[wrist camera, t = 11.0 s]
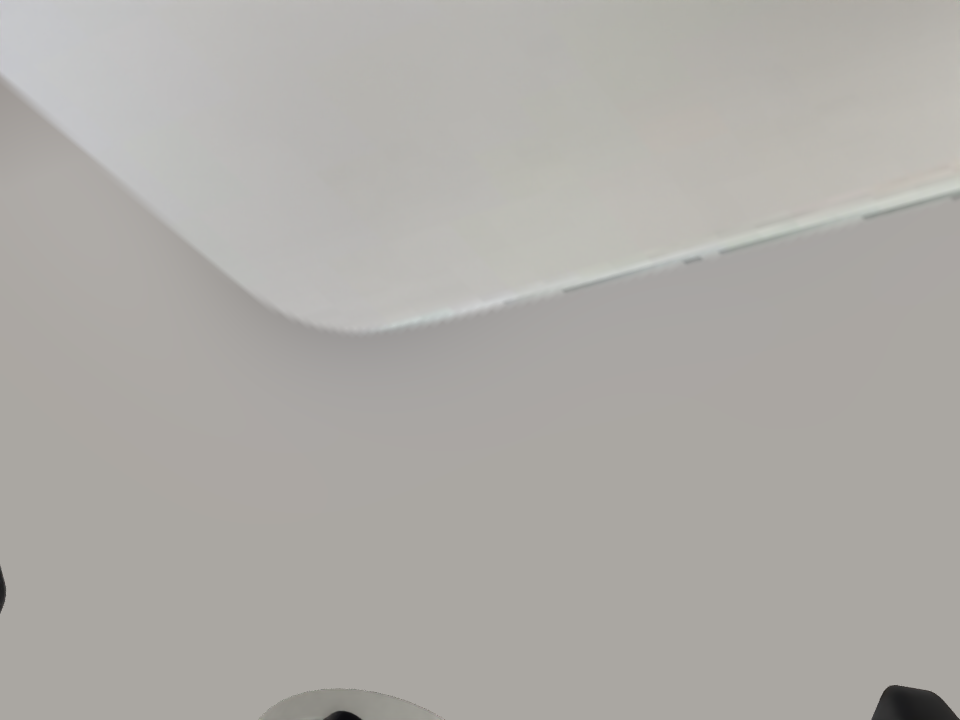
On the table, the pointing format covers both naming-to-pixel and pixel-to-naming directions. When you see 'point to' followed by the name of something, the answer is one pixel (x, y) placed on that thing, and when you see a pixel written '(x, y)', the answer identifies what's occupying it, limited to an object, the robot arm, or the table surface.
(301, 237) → the table surface
